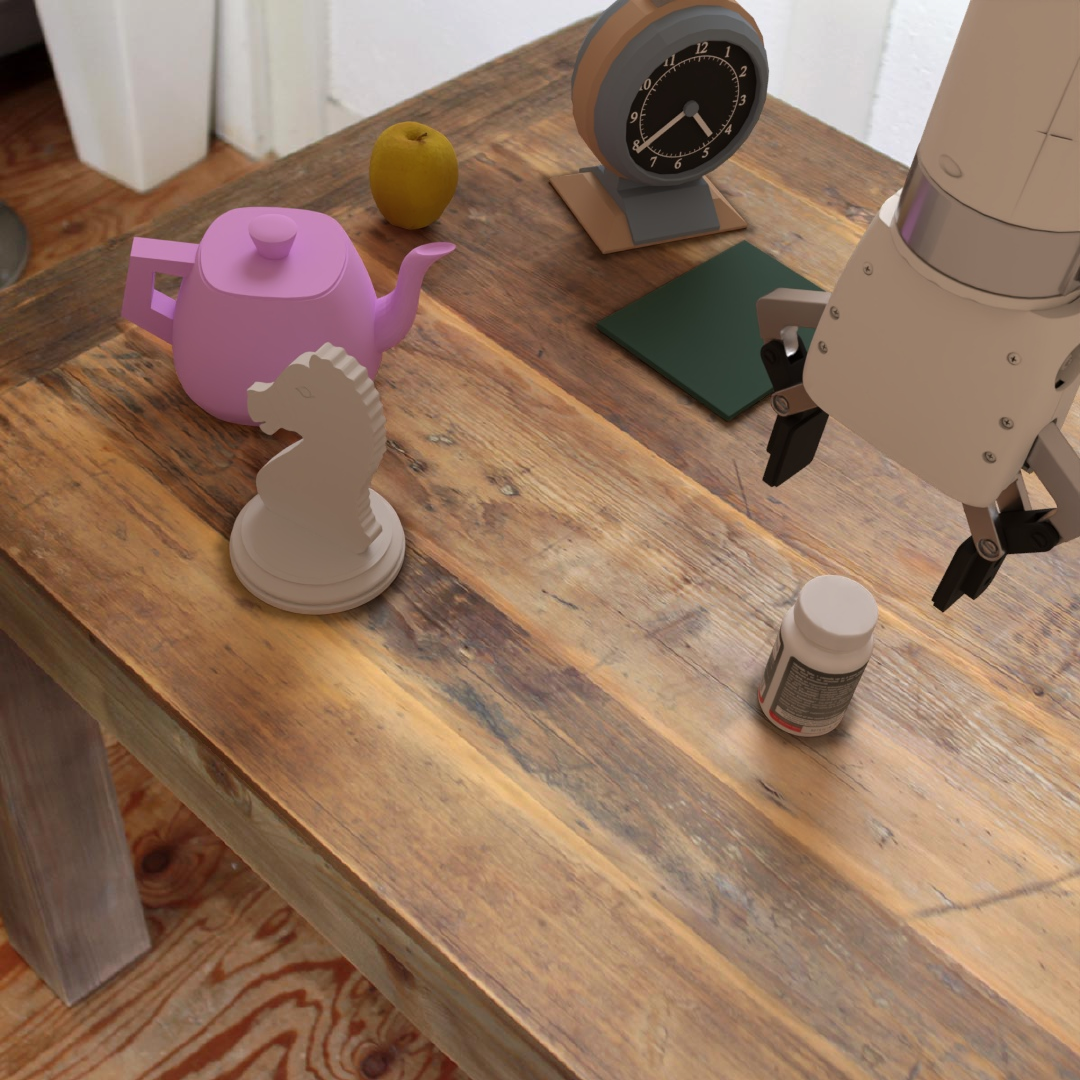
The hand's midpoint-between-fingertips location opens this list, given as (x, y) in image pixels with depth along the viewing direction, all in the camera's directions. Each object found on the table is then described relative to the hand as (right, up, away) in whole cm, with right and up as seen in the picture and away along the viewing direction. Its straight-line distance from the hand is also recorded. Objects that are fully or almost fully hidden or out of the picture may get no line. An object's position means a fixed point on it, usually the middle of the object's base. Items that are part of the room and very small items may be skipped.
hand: (867, 531), depth 62 cm
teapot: (-31, +10, +24) cm, 41 cm away
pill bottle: (-1, -9, +11) cm, 14 cm away
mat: (-1, +14, +32) cm, 35 cm away
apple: (-25, +23, +37) cm, 50 cm away
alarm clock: (-7, +25, +41) cm, 49 cm away
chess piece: (-28, -1, +15) cm, 31 cm away
